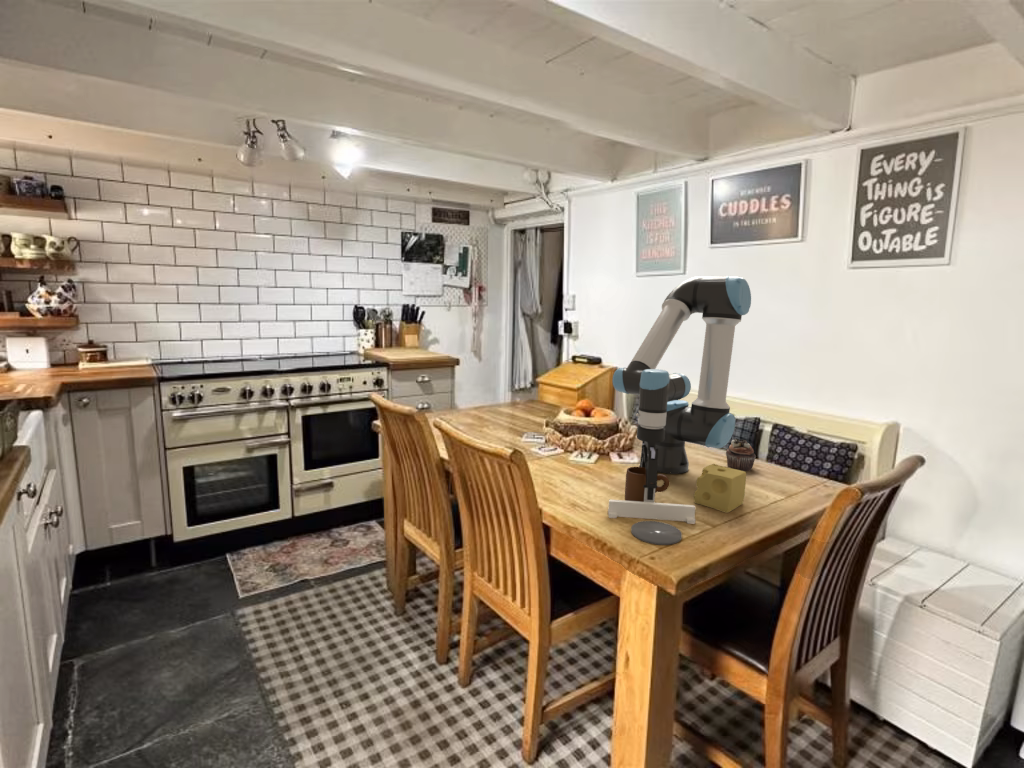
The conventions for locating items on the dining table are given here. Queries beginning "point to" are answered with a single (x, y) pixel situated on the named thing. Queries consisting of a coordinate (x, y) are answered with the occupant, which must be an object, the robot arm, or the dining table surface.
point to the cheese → (720, 488)
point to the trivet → (656, 532)
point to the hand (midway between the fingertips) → (645, 502)
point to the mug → (640, 484)
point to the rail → (651, 510)
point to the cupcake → (740, 455)
